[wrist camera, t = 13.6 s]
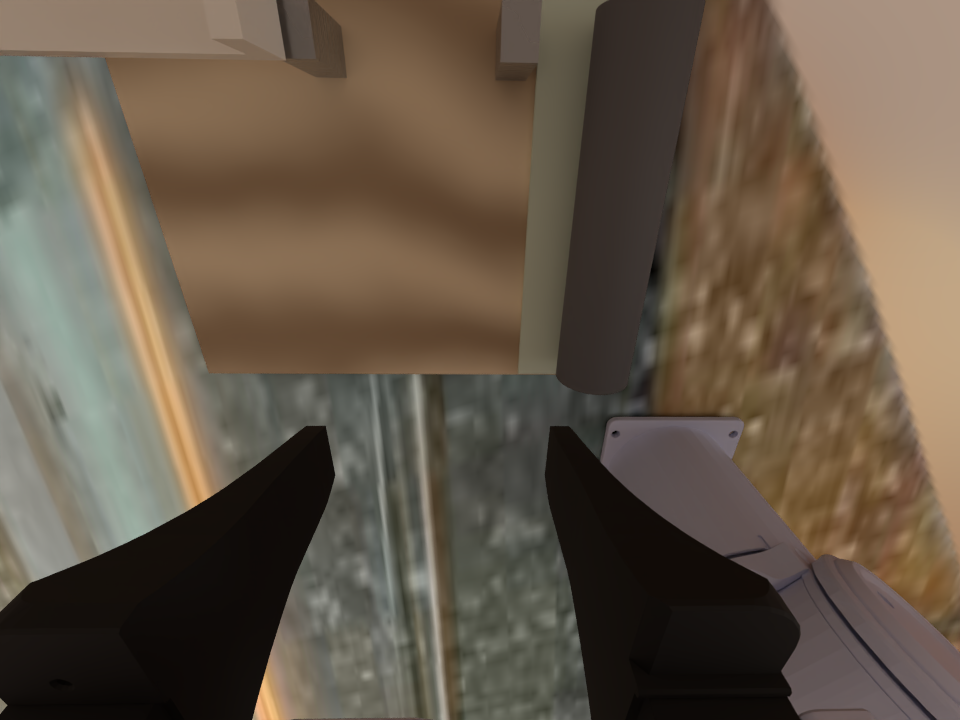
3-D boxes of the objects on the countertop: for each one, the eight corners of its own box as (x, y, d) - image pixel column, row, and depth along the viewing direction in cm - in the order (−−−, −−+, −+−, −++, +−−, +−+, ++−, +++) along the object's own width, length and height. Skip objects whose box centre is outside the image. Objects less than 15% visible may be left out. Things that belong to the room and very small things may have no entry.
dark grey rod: (588, 355, 22) (642, 381, 19) (541, 372, 20) (594, 403, 18) (636, 28, 16) (726, 5, 13) (574, 11, 14) (665, -20, 11)
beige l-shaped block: (285, 60, 12) (243, 38, 10) (-19, 55, 12) (-133, 32, 10) (273, -17, 12) (223, -59, 9) (-54, -24, 12) (-187, -68, 9)
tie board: (615, 369, 23) (642, 411, 19) (215, 367, 22) (164, 410, 19) (690, -38, 15) (760, -101, 11) (81, -52, 15) (-51, -122, 11)
